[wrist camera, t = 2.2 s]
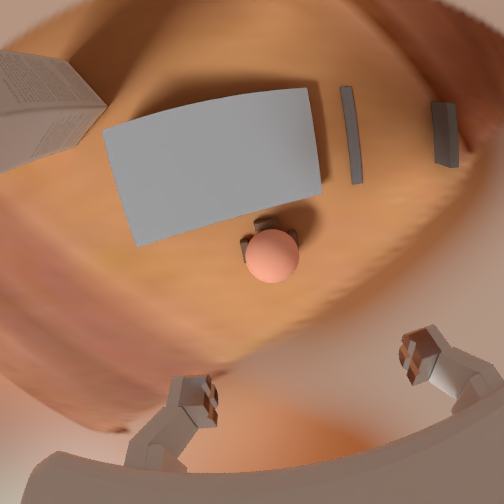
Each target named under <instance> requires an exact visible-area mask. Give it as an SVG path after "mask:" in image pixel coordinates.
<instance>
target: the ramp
mask: <svg viewBox="0 0 504 504" xmlns="http://www.w3.org/2000/svg"><path fill="white" fill-rule="evenodd" d="M102 133H103V137H104V142H105V146H106V150H107V154H108V158H109V161H110V165H111V169H112V172H113V176H114V179H115V183H116V186H117V190H118V193H119V196H120V200H121V203H122V206H123V209H124V212H125V215H126V218H127V221H128V224H129V227H130V230H131V233H132V236H133V238H134V241H135V244H136V247H141V246H144V245H147V244H150V243H153V242H156V241H159V240H162V239H165V238H169V237H172V236H175V235H178V234H181V233H185V232H188V231H191V230H194V229H198V228H201V227H204V226H208V225H211V224H214V223H218V222H221V221H225V220H228V219H231V218H235V217H238V216H242V215H245V214H249V213H253V212H256V211H260V210H263V209H267V208H271V207H274V206H278V205H282V204H285V203H289V202H293V201H297V200H300V199H304V198H308V197H312V196H316V195H320V194H322V186H321V178H320V169H319V161H318V154H317V146H316V139H315V133H314V126H313V120H312V114H311V108H310V102H309V96H308V91H307V88H293V89H282V90H272V91H263V92H255V93H248V94H241V95H235V96H229V97H223V98H218V99H213V100H208V101H203V102H198V103H194V104H189V105H185V106H181V107H177V108H173V109H169V110H165V111H161V112H158V113H154V114H151V115H147V116H144V117H141V118H137V119H134V120H131V121H128V122H125V123H122V124H119V125H116V126H113V127H110V128H108V129H105V130H102Z"/></svg>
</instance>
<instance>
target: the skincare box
mask: <svg viewBox="0 0 504 504" xmlns="http://www.w3.org/2000/svg"><path fill="white" fill-rule="evenodd" d="M106 109H107V105H106V104H105V103H104V102H103V101H102V99H101V98H100V97H99V96H98V95H97V94H96V93H95V92H94V90H93V89H92V88H91V87H90V86H89V85H88V84H87V83H86V82H85V81H84V79H83V78H82V77H81V76H80V75H79V74H78V73H77V72H76V71H75V69H74V68H73V67H72V66H71V65H70V64H69V63H68V62H67V61H65V60H60V59H55V58H50V57H45V56H39V55H33V54H26V53H19V52H11V51H1V50H0V174H2V173H4V172H7V171H9V170H12V169H14V168H16V167H19V166H22V165H24V164H27V163H30V162H33V161H35V160H38V159H41V158H44V157H47V156H50V155H53V154H56V153H59V152H62V151H65V150H69V149H72V148H74V147H75V146H76V145H77V144H78V142H79V141H80V140H81V138H82V137H83V136H84V134H85V133H86V132H87V131H88V129H89V128H90V127H91V126H92V125H93V123H94V122H95V121H96V120H97V119H98V118H99V117H100V115H101V114H102V113H103V112H104V111H105V110H106Z"/></svg>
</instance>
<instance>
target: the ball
mask: <svg viewBox="0 0 504 504" xmlns="http://www.w3.org/2000/svg"><path fill="white" fill-rule="evenodd" d="M245 258H246V264H247V266H248V269H249V270H250V272H251V273H252V274H253V275H254V276H255V277H256V278H257V279H259V280H261V281H264V282H267V283H277V282H281V281H284V280H286V279H287V278H289V277H290V276H291V275H292V274H293V273H294V271H295V270H296V268H297V265H298V262H299V250H298V247H297V244H296V242H295V241H294V240H293V238H292V237H291V236H290V235H288V234H287V233H285V232H283V231H281V230H277V229H268V230H264V231H261V232H259V233H258V234H256V235H255V236H254V237H253V238H252V239H251V240H250V242H249V244H248V246H247V249H246V254H245Z"/></svg>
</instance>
